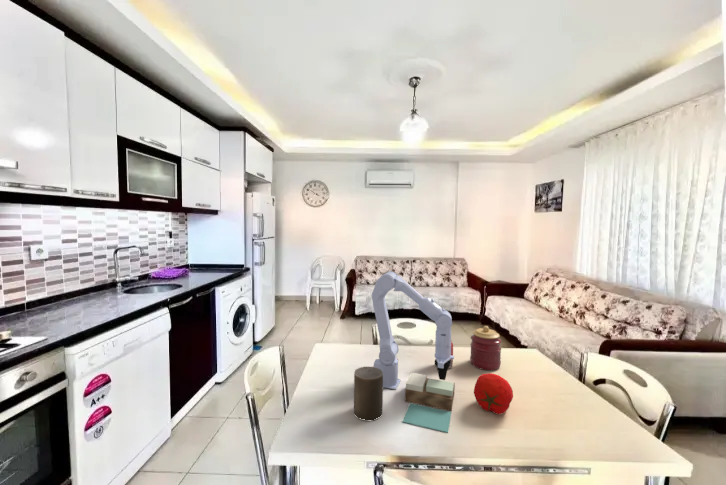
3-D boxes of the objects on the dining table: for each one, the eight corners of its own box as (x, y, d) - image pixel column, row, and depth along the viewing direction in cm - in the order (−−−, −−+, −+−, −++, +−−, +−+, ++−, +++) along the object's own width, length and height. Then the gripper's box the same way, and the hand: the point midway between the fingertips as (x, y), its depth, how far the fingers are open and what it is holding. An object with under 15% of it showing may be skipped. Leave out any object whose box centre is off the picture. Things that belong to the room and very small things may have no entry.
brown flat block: (405, 401, 111) (405, 390, 111) (412, 385, 122) (412, 375, 122) (451, 411, 105) (451, 399, 105) (454, 393, 116) (454, 383, 116)
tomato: (490, 405, 114) (482, 425, 103) (471, 372, 117) (461, 388, 106) (523, 396, 108) (518, 416, 97) (502, 361, 111) (495, 377, 100)
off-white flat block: (422, 392, 110) (422, 386, 109) (405, 388, 112) (405, 383, 112) (426, 380, 118) (426, 375, 118) (411, 377, 120) (411, 372, 120)
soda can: (439, 361, 144) (440, 336, 143) (454, 365, 140) (455, 339, 139) (433, 367, 138) (434, 340, 138) (449, 371, 134) (449, 344, 134)
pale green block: (425, 391, 110) (426, 385, 110) (428, 383, 116) (428, 378, 116) (452, 396, 107) (452, 390, 107) (453, 388, 113) (453, 382, 112)
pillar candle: (378, 424, 98) (379, 377, 97) (349, 418, 101) (350, 372, 100) (385, 407, 107) (386, 364, 107) (358, 402, 110) (359, 360, 110)
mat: (402, 422, 99) (402, 421, 99) (409, 403, 109) (409, 403, 109) (447, 433, 94) (448, 432, 94) (451, 412, 104) (451, 411, 104)
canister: (471, 369, 137) (472, 329, 136) (468, 357, 149) (469, 320, 148) (503, 372, 134) (504, 332, 133) (497, 359, 146) (498, 322, 145)
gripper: (452, 352, 109) (451, 390, 110) (455, 338, 122) (454, 372, 123) (432, 349, 111) (431, 386, 112) (437, 336, 125) (436, 369, 126)
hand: (442, 378), depth 118 cm, fingers closed
